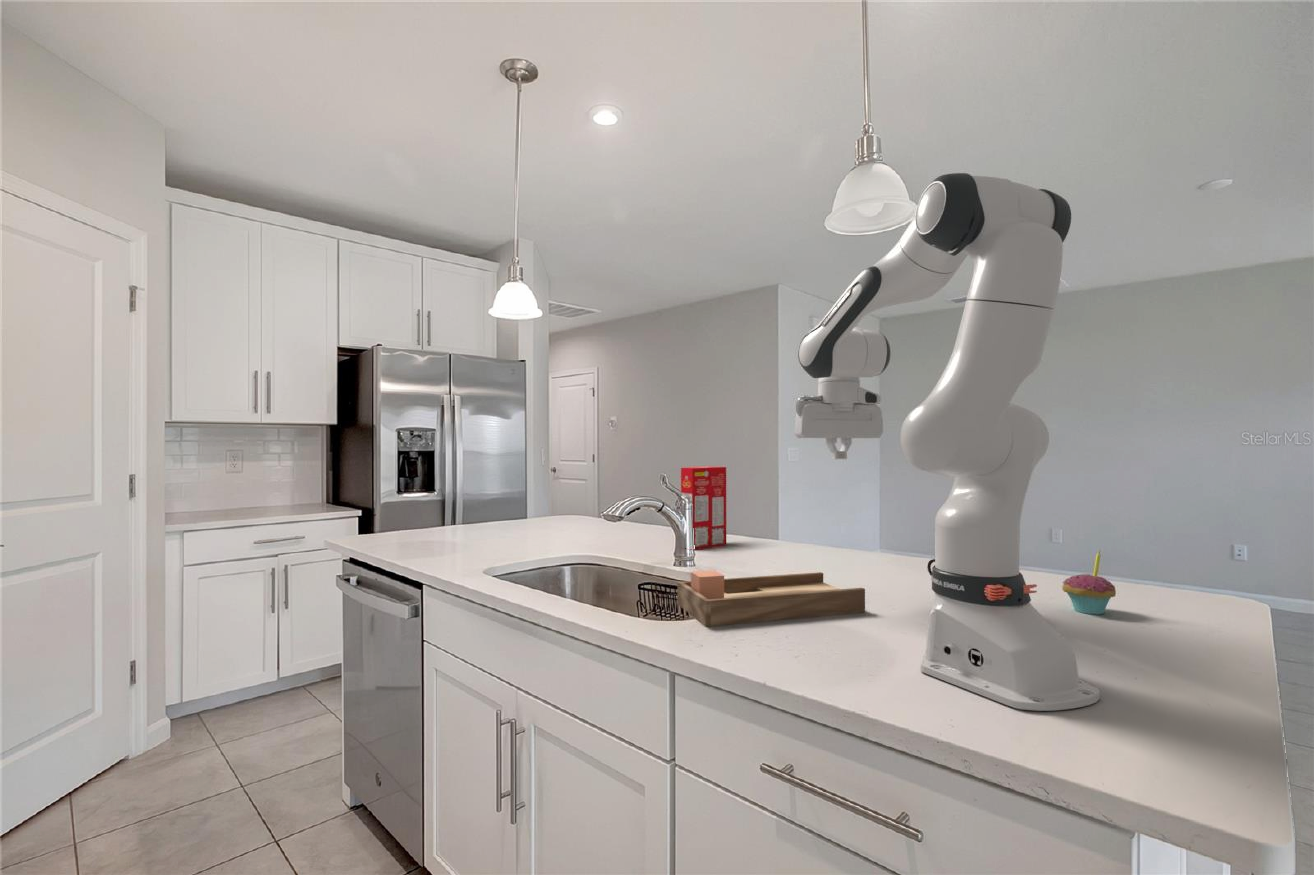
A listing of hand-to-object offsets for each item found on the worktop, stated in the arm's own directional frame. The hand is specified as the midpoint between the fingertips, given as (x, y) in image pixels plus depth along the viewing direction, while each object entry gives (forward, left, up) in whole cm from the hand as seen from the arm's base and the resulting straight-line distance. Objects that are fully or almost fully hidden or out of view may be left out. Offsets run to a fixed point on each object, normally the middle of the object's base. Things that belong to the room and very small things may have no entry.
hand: (838, 459), depth 137 cm
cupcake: (-27, -38, -29) cm, 55 cm away
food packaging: (+65, +7, -29) cm, 72 cm away
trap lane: (-7, +20, -29) cm, 36 cm away
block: (-7, +33, -27) cm, 43 cm away
